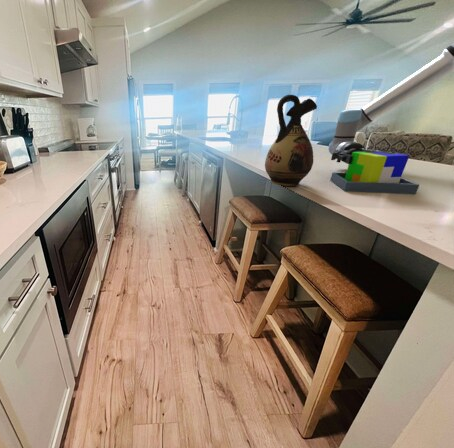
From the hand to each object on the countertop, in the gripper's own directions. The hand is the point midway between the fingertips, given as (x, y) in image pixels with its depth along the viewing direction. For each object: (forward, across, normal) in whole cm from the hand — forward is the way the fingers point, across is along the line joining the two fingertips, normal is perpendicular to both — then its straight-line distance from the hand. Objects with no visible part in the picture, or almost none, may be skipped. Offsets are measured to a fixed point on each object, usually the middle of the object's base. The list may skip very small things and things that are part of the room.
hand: (374, 160), depth 81 cm
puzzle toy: (+2, 0, -8) cm, 8 cm away
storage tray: (+2, 0, -9) cm, 9 cm away
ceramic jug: (+2, +27, -9) cm, 29 cm away
